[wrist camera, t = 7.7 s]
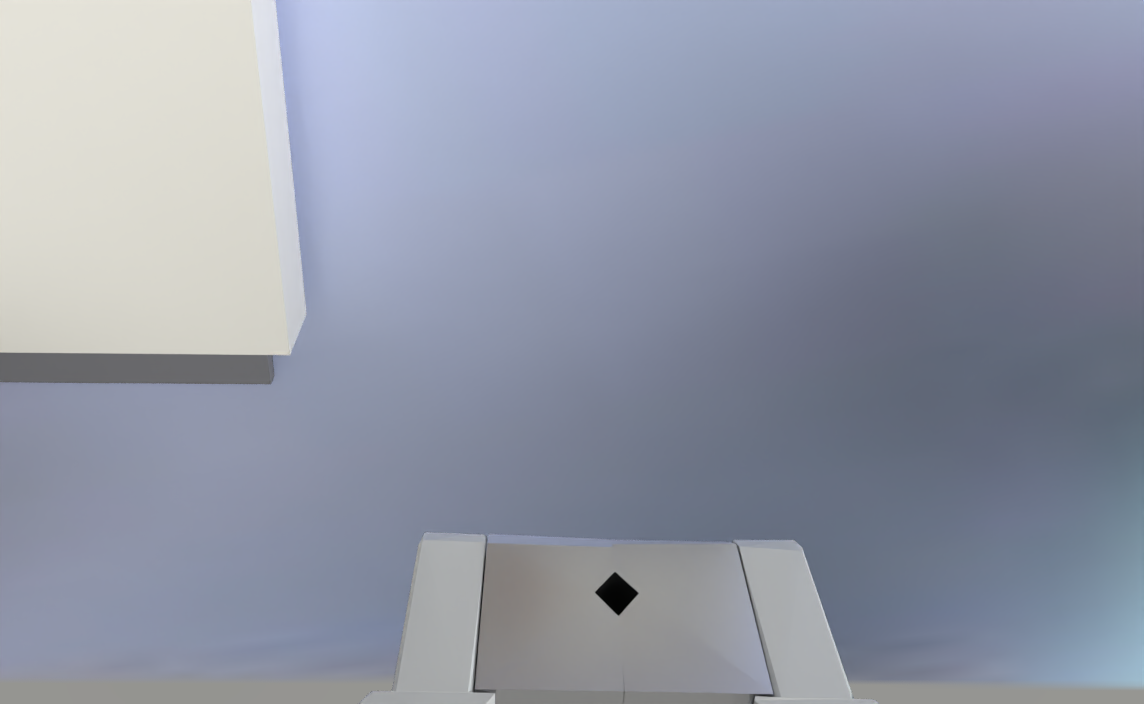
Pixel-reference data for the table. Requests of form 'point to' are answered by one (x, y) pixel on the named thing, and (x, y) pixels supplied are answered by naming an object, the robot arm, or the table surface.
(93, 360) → the mat
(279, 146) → the tile
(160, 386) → the table surface
